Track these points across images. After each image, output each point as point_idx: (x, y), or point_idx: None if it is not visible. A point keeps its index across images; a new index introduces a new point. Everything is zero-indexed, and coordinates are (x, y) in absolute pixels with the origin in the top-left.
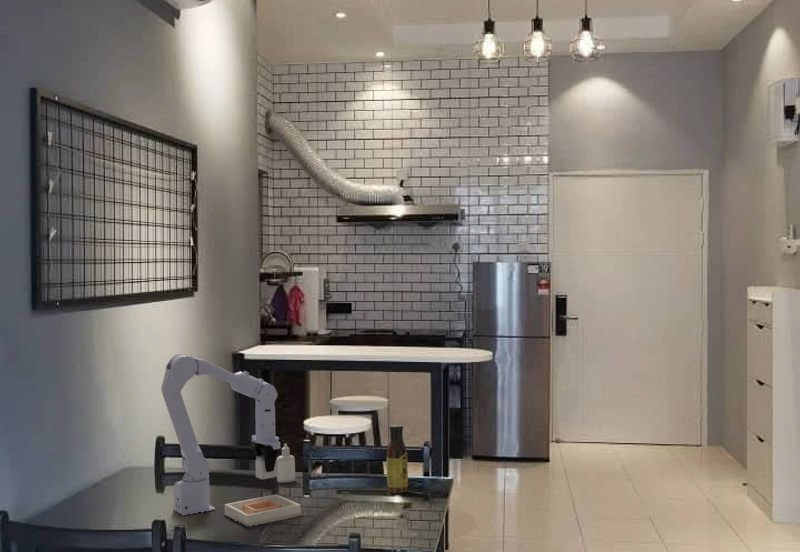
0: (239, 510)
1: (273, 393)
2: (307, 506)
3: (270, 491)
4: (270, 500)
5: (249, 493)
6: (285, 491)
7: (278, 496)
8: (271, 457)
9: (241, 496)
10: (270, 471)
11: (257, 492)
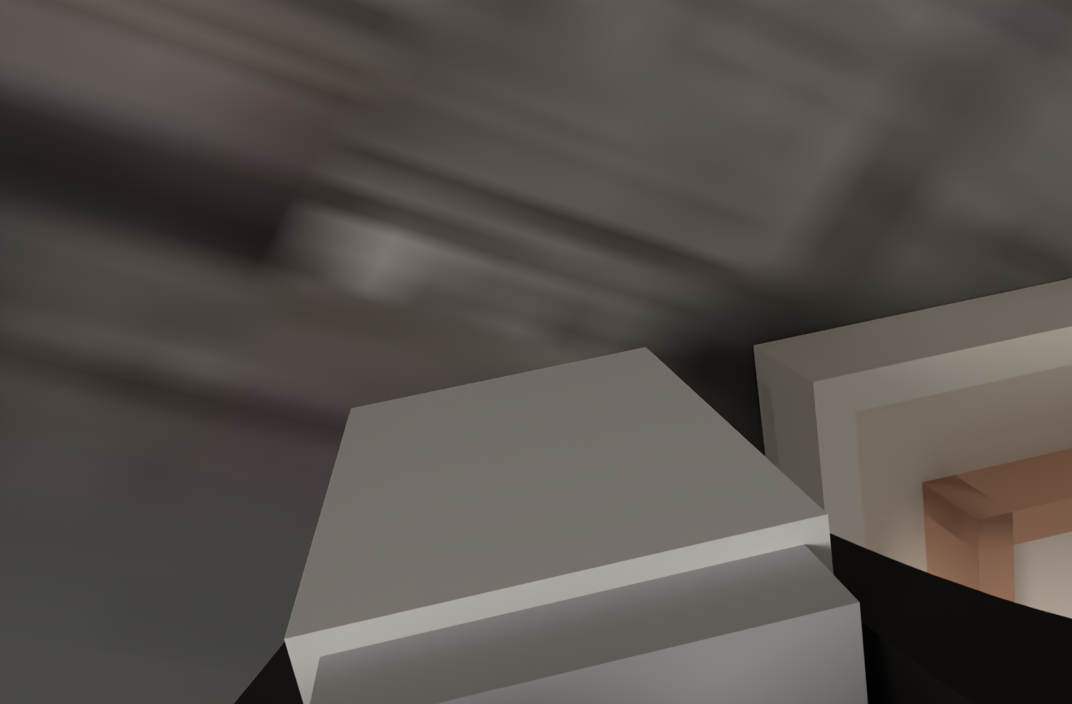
0: None
1: None
2: (1042, 12)
3: (29, 228)
4: (1011, 518)
5: (25, 522)
6: (128, 12)
7: (938, 387)
8: None
9: (145, 640)
10: None
11: (12, 413)
